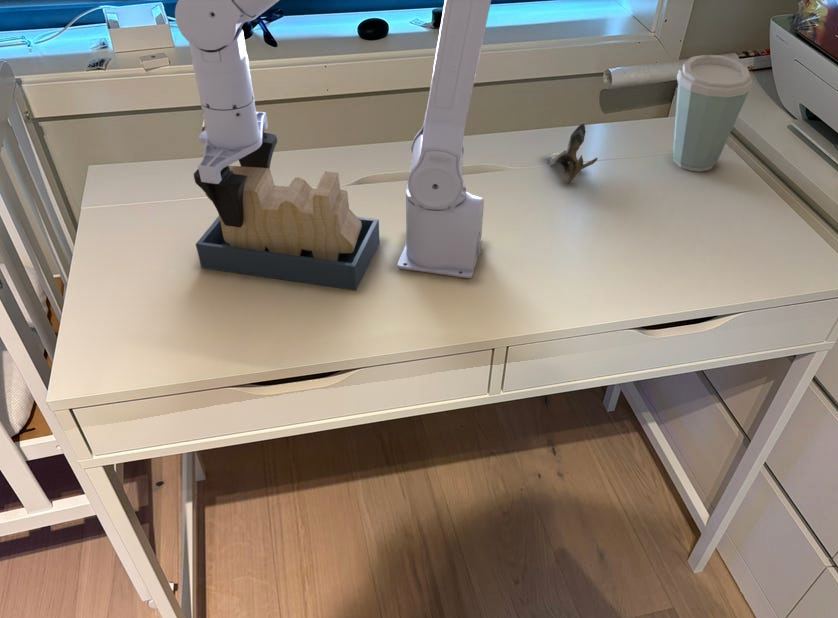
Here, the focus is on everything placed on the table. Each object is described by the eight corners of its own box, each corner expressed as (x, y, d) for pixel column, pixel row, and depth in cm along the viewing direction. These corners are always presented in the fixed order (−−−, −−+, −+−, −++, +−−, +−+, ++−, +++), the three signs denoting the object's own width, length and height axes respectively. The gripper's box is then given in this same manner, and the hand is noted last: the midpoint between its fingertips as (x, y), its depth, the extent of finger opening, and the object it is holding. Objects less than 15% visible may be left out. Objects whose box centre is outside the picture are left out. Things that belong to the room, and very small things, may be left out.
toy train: (355, 269, 89) (350, 197, 82) (219, 258, 90) (203, 186, 83) (363, 244, 93) (359, 173, 87) (233, 234, 94) (219, 163, 87)
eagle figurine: (607, 177, 107) (594, 139, 113) (590, 144, 102) (577, 106, 107) (560, 200, 110) (549, 162, 115) (541, 169, 105) (530, 130, 110)
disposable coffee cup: (737, 178, 111) (769, 80, 101) (669, 180, 110) (695, 81, 100) (711, 146, 119) (738, 52, 109) (647, 147, 118) (669, 53, 107)
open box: (379, 242, 95) (378, 219, 92) (356, 290, 87) (354, 266, 85) (236, 222, 97) (231, 199, 95) (201, 268, 89) (195, 243, 87)
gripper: (220, 71, 85) (239, 176, 94) (161, 123, 75) (188, 235, 84) (277, 77, 84) (291, 183, 94) (226, 131, 74) (246, 243, 83)
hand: (246, 208), depth 89 cm, fingers open, 7 cm apart
